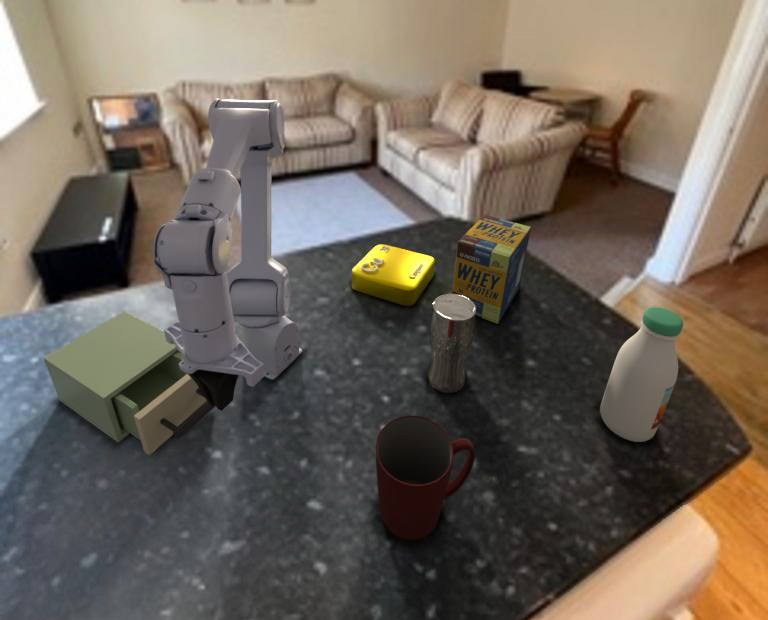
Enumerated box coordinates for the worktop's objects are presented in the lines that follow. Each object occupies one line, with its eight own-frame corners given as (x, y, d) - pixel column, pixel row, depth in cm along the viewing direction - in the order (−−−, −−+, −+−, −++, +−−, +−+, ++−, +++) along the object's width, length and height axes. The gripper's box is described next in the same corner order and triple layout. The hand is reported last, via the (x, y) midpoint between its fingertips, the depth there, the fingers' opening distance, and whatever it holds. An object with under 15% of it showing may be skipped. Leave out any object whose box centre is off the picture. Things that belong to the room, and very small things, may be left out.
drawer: (235, 407, 68) (230, 374, 65) (170, 470, 58) (160, 434, 56) (158, 364, 75) (150, 332, 72) (90, 413, 66) (77, 379, 63)
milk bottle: (632, 452, 63) (675, 342, 55) (587, 411, 70) (619, 307, 61) (666, 431, 67) (711, 324, 58) (620, 394, 73) (655, 293, 64)
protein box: (449, 306, 93) (456, 241, 86) (476, 272, 105) (484, 213, 98) (498, 325, 88) (510, 257, 81) (521, 287, 100) (532, 225, 93)
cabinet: (192, 382, 73) (183, 341, 69) (118, 442, 63) (103, 398, 59) (135, 350, 79) (124, 311, 75) (59, 400, 69) (43, 357, 65)
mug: (454, 464, 61) (462, 406, 56) (480, 532, 53) (492, 471, 49) (368, 481, 59) (369, 421, 54) (382, 555, 51) (385, 493, 46)
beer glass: (471, 371, 76) (482, 300, 70) (460, 401, 71) (470, 326, 64) (433, 358, 79) (440, 288, 73) (419, 386, 73) (425, 312, 67)
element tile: (411, 309, 92) (413, 289, 90) (348, 289, 97) (347, 270, 95) (436, 273, 104) (437, 255, 102) (378, 257, 110) (378, 240, 108)
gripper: (133, 314, 51) (155, 400, 57) (225, 361, 45) (240, 452, 51) (185, 284, 57) (200, 365, 62) (272, 322, 50) (281, 408, 56)
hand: (221, 401), depth 57 cm, fingers closed
